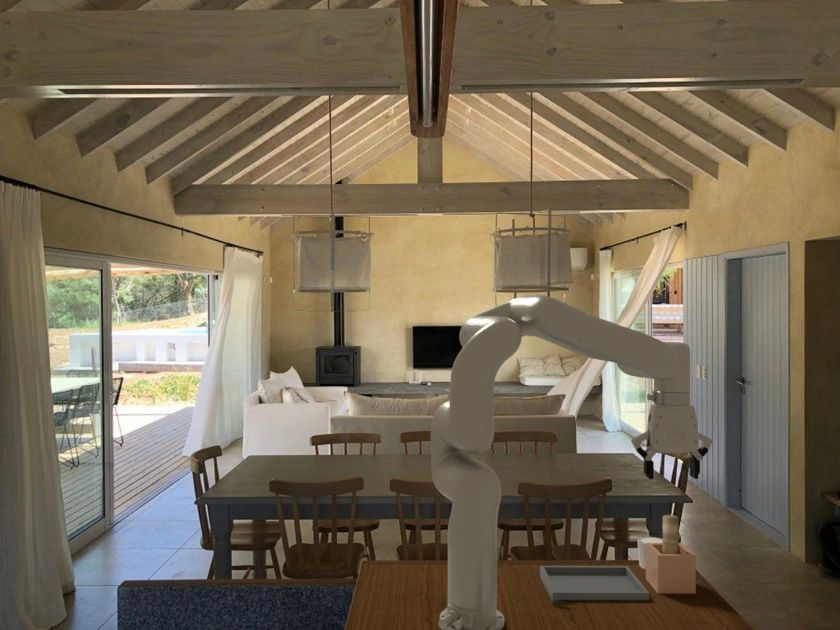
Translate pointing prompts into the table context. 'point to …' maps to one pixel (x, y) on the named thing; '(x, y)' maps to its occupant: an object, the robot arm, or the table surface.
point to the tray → (591, 583)
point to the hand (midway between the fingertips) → (671, 477)
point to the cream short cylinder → (642, 548)
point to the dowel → (670, 534)
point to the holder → (671, 569)
